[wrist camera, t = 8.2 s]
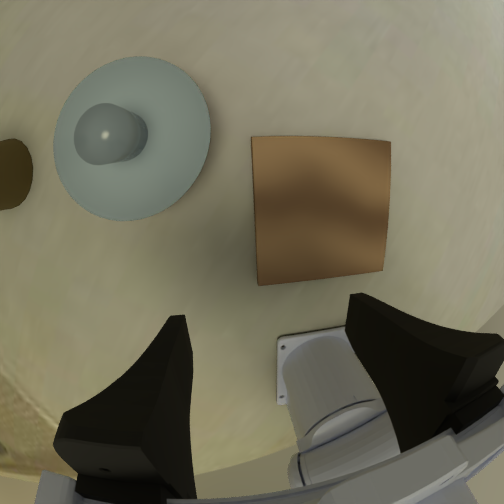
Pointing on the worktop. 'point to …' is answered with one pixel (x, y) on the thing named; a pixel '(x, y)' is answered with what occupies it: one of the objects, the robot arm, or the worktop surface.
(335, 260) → the board
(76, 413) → the robot arm
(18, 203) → the cork
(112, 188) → the lid
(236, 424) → the worktop surface
